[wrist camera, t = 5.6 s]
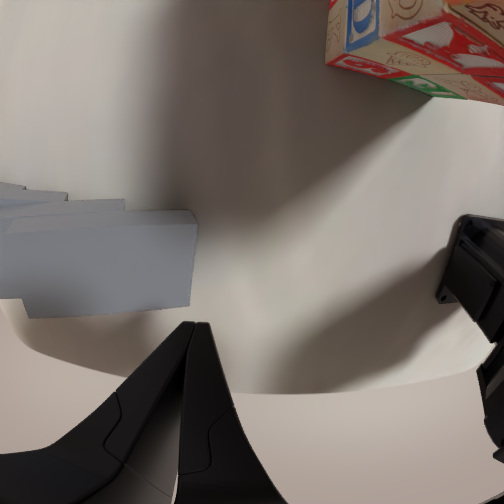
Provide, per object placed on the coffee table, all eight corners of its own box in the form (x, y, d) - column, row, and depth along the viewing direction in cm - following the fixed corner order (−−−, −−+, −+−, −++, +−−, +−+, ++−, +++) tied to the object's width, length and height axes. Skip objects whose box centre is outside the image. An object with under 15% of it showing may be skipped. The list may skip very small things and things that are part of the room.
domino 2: (124, 210, 12) (-33, 222, 8) (126, 292, 14) (-11, 299, 10) (123, 198, 13) (-22, 209, 9) (124, 275, 15) (-4, 282, 11)
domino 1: (198, 223, 12) (4, 233, 8) (189, 306, 14) (28, 318, 10) (189, 209, 13) (14, 218, 9) (182, 287, 16) (33, 298, 11)
